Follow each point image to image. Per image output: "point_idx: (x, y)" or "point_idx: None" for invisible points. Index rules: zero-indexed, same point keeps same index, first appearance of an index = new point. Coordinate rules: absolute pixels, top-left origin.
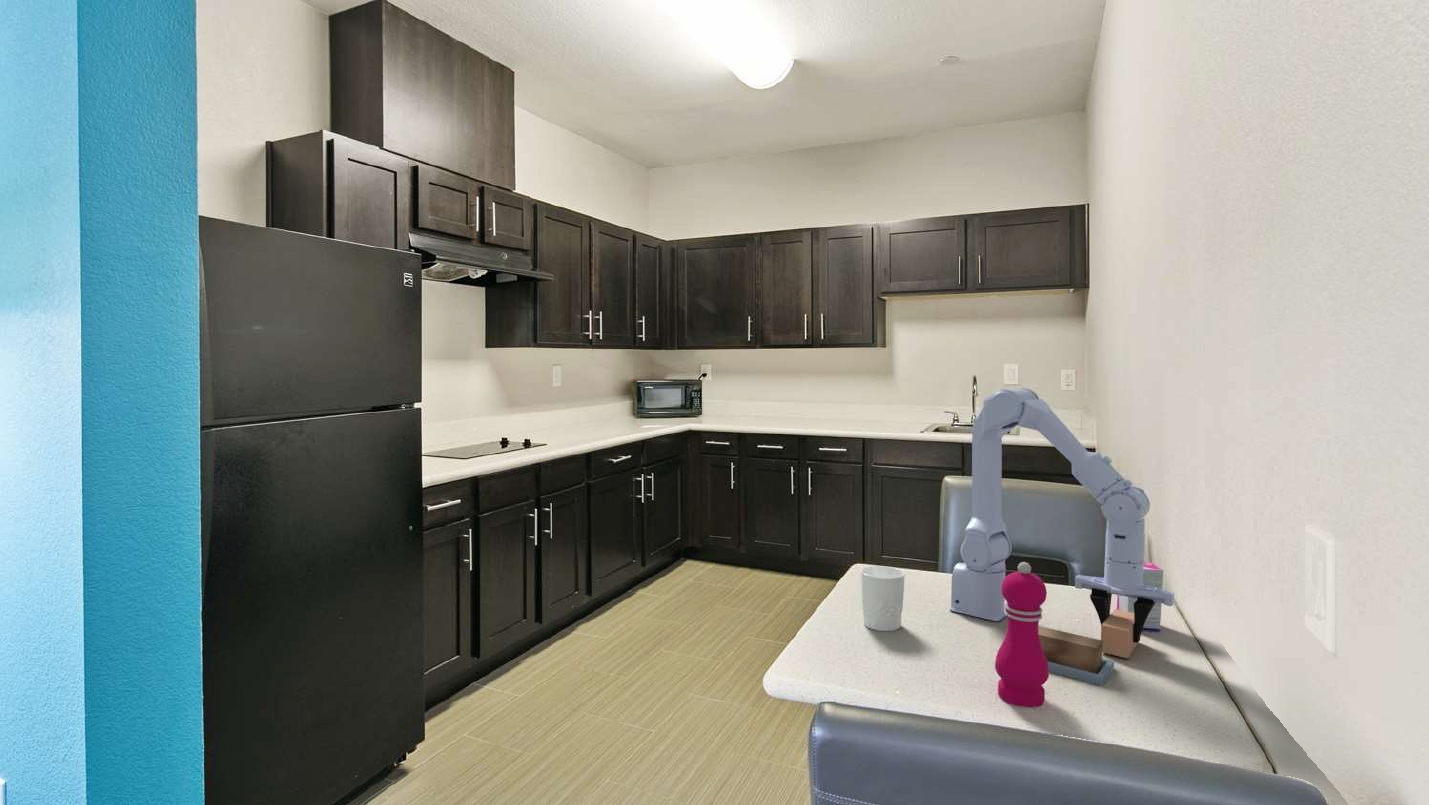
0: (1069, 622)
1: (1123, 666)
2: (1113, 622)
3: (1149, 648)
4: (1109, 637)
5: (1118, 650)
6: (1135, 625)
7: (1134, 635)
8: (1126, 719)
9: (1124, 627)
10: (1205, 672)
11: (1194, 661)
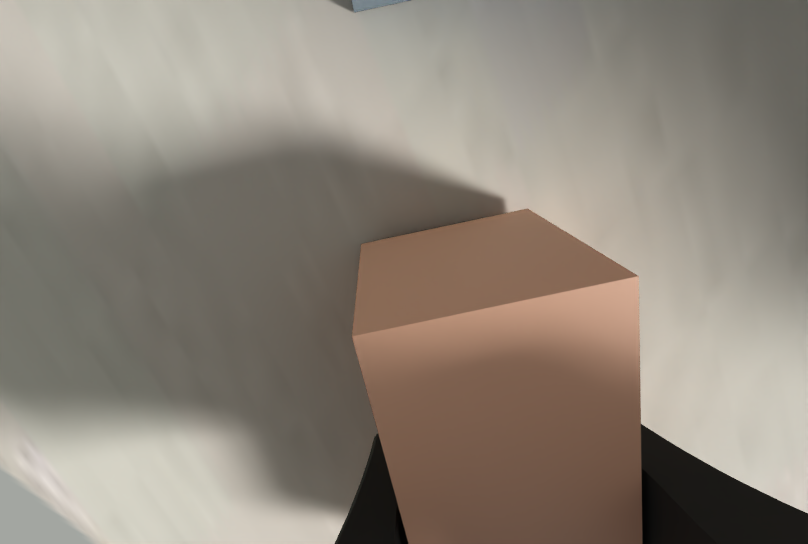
0: None
1: (334, 121)
2: (560, 443)
3: None
4: (508, 256)
5: (420, 243)
6: (385, 530)
7: None
8: None
9: (427, 399)
10: (18, 429)
11: (144, 517)
